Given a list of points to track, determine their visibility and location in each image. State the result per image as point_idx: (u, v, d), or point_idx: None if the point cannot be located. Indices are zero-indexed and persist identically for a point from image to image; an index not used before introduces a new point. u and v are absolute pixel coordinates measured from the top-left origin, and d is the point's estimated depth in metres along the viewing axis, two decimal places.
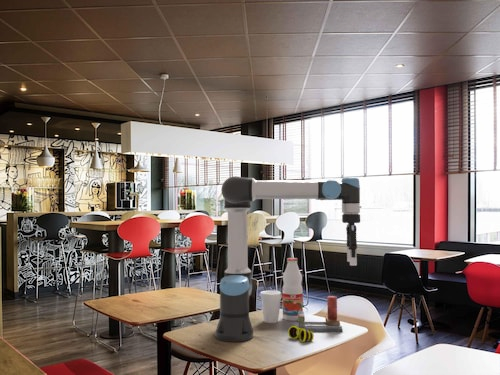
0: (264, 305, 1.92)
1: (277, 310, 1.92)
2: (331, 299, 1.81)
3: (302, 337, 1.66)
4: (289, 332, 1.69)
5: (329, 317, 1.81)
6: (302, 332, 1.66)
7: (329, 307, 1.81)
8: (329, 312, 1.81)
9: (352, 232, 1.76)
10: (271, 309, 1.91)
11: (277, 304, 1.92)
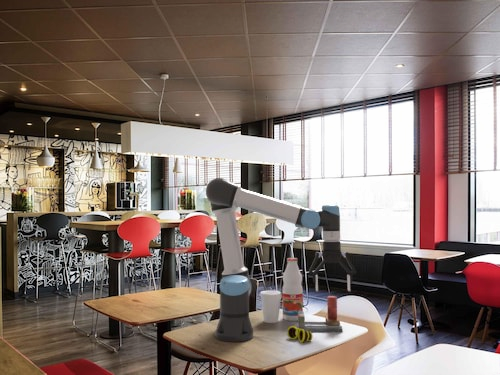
0: (264, 305, 1.92)
1: (277, 310, 1.92)
2: (331, 299, 1.81)
3: (301, 337, 1.66)
4: (288, 332, 1.69)
5: (329, 317, 1.81)
6: (301, 332, 1.66)
7: (329, 307, 1.81)
8: (329, 312, 1.81)
9: None
10: (271, 309, 1.91)
11: (277, 304, 1.92)
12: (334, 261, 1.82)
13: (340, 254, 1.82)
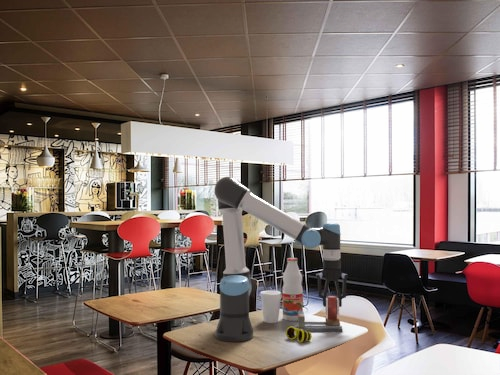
0: (264, 305, 1.92)
1: (277, 310, 1.92)
2: (331, 299, 1.81)
3: (300, 337, 1.65)
4: (287, 333, 1.69)
5: (329, 317, 1.81)
6: (300, 332, 1.66)
7: (329, 307, 1.81)
8: (329, 312, 1.81)
9: (318, 281, 1.83)
10: (271, 309, 1.91)
11: (277, 304, 1.92)
12: (334, 280, 1.82)
13: (340, 273, 1.82)
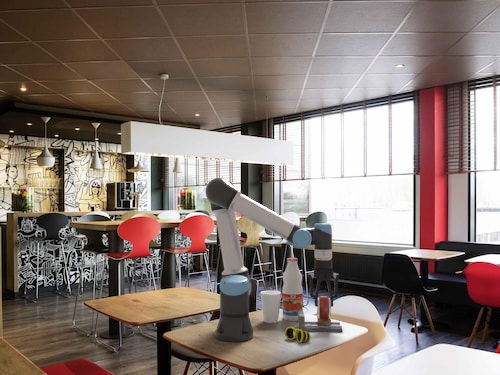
0: (264, 305, 1.92)
1: (277, 310, 1.92)
2: (323, 299, 1.81)
3: (299, 338, 1.65)
4: (286, 333, 1.68)
5: (321, 317, 1.81)
6: (299, 333, 1.66)
7: (321, 307, 1.81)
8: (321, 312, 1.81)
9: None
10: (271, 309, 1.91)
11: (277, 304, 1.92)
12: (325, 279, 1.82)
13: (331, 273, 1.82)
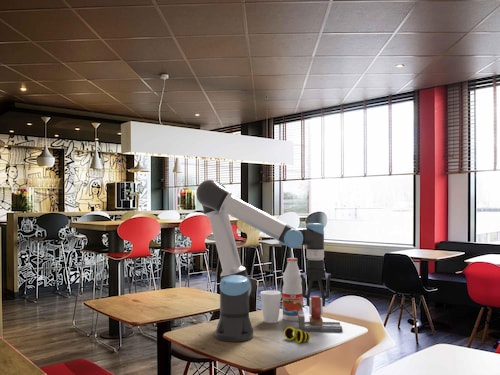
0: (264, 305, 1.92)
1: (277, 310, 1.92)
2: (314, 299, 1.81)
3: (298, 338, 1.65)
4: (285, 333, 1.68)
5: (312, 317, 1.81)
6: (298, 333, 1.65)
7: (312, 307, 1.81)
8: (313, 311, 1.81)
9: None
10: (271, 309, 1.91)
11: (277, 304, 1.92)
12: (317, 279, 1.82)
13: (323, 273, 1.82)
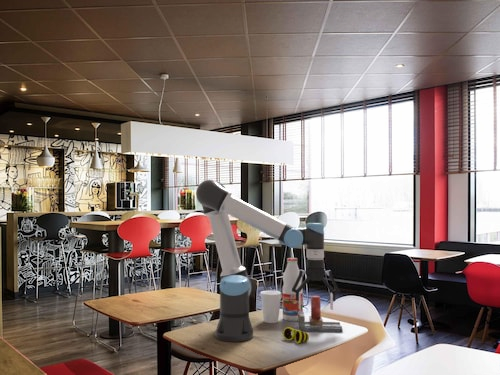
0: (264, 305, 1.92)
1: (277, 310, 1.92)
2: (314, 299, 1.81)
3: (297, 338, 1.65)
4: (284, 333, 1.68)
5: (312, 317, 1.81)
6: (297, 333, 1.65)
7: (312, 307, 1.81)
8: (313, 311, 1.81)
9: (298, 276, 1.84)
10: (271, 309, 1.91)
11: (277, 304, 1.92)
12: (317, 279, 1.82)
13: (323, 272, 1.82)
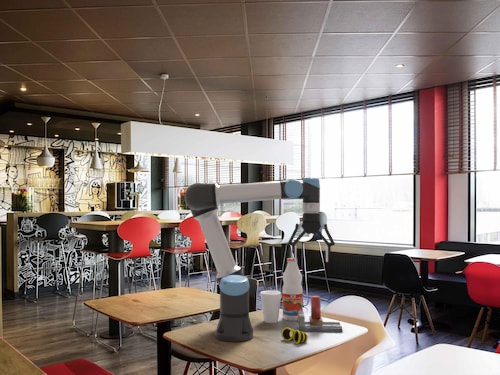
0: (264, 305, 1.92)
1: (277, 310, 1.92)
2: (314, 299, 1.81)
3: (296, 338, 1.64)
4: (282, 334, 1.67)
5: (312, 317, 1.81)
6: (296, 333, 1.65)
7: (312, 307, 1.81)
8: (313, 311, 1.81)
9: (294, 230, 1.89)
10: (271, 309, 1.91)
11: (277, 304, 1.92)
12: (313, 232, 1.86)
13: (319, 225, 1.86)
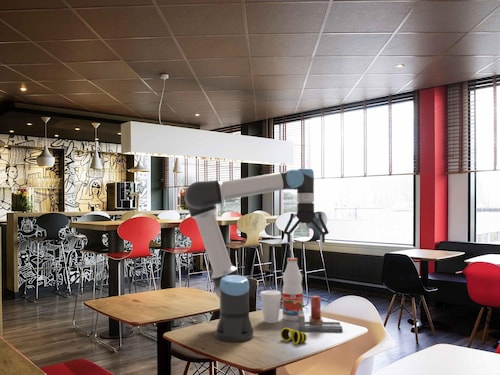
0: (264, 305, 1.92)
1: (277, 310, 1.92)
2: (314, 299, 1.81)
3: (295, 339, 1.64)
4: (281, 334, 1.67)
5: (312, 317, 1.81)
6: (295, 334, 1.64)
7: (312, 307, 1.81)
8: (313, 311, 1.81)
9: None
10: (271, 309, 1.91)
11: (277, 304, 1.92)
12: (307, 222, 1.92)
13: (313, 215, 1.92)
